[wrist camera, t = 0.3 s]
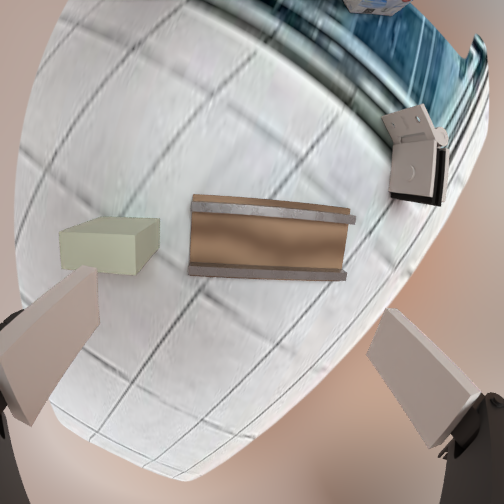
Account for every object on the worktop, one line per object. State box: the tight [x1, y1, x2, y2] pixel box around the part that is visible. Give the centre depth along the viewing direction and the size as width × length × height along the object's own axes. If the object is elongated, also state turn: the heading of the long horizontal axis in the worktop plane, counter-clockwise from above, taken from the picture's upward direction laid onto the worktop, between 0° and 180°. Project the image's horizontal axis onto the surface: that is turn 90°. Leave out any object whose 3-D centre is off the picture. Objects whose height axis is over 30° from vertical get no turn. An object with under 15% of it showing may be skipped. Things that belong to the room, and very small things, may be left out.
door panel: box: [59, 217, 160, 275], centre depth 30 cm, size 4×9×12 cm, turn 86°
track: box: [188, 194, 356, 281], centre depth 37 cm, size 11×22×3 cm, turn 86°
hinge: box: [381, 104, 449, 207], centre depth 33 cm, size 14×5×10 cm, turn 7°
